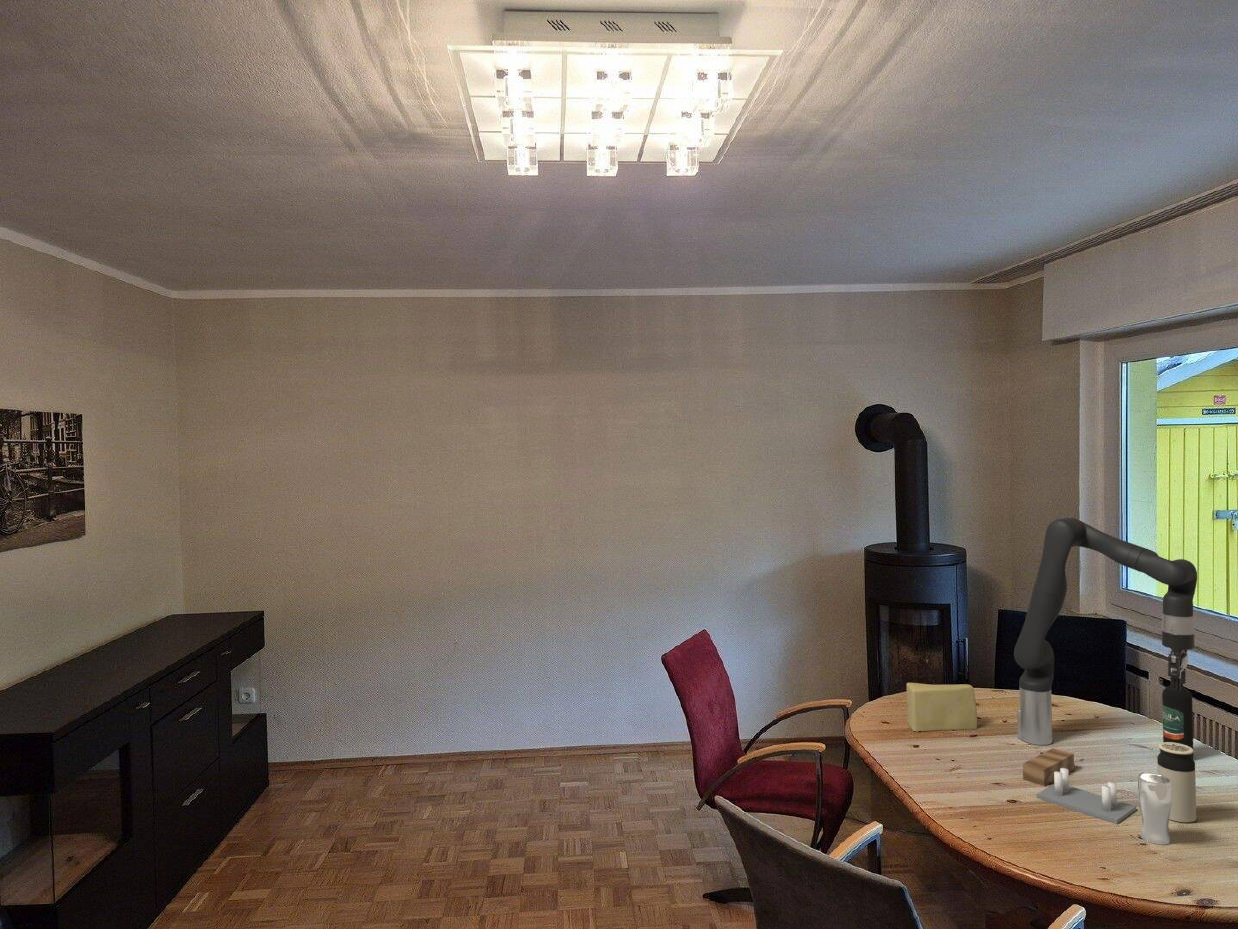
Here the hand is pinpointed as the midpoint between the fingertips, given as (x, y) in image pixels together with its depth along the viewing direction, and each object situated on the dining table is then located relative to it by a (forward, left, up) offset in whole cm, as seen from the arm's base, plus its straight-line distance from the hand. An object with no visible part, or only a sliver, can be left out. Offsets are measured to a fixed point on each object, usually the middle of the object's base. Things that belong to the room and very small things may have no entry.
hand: (1178, 687), depth 221 cm
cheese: (-67, -10, -28) cm, 73 cm away
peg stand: (-11, -34, -27) cm, 45 cm away
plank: (-26, -22, -28) cm, 44 cm away
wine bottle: (-7, +20, -27) cm, 35 cm away
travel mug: (+7, -24, -27) cm, 37 cm away
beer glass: (+8, -41, -27) cm, 50 cm away
